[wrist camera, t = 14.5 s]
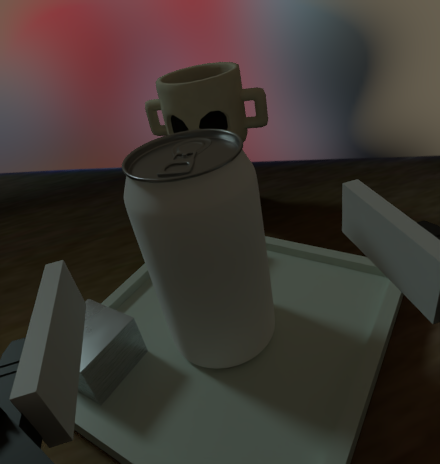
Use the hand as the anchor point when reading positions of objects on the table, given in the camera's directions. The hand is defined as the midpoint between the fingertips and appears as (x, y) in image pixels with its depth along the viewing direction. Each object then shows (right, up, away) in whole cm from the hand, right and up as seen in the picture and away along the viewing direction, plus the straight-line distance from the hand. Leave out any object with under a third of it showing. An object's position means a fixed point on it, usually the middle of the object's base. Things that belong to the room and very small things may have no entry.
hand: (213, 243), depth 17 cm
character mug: (+1, +3, +21) cm, 21 cm away
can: (+1, -6, +6) cm, 9 cm away
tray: (+1, -6, +7) cm, 9 cm away
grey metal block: (-7, -8, +6) cm, 12 cm away
